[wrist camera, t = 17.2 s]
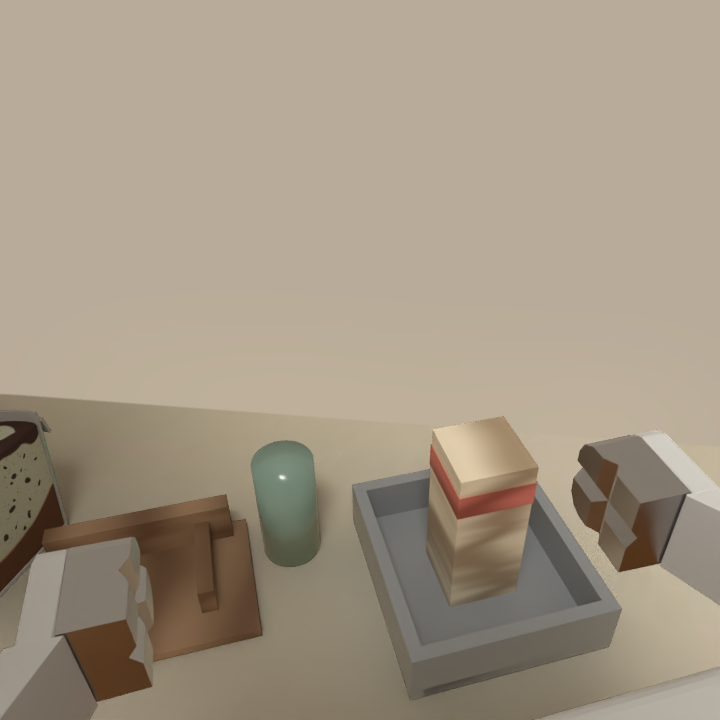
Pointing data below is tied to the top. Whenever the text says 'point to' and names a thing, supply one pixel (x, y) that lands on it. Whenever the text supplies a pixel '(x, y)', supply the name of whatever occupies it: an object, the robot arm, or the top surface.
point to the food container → (25, 493)
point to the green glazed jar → (287, 502)
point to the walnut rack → (184, 571)
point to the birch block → (478, 508)
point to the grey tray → (484, 617)
